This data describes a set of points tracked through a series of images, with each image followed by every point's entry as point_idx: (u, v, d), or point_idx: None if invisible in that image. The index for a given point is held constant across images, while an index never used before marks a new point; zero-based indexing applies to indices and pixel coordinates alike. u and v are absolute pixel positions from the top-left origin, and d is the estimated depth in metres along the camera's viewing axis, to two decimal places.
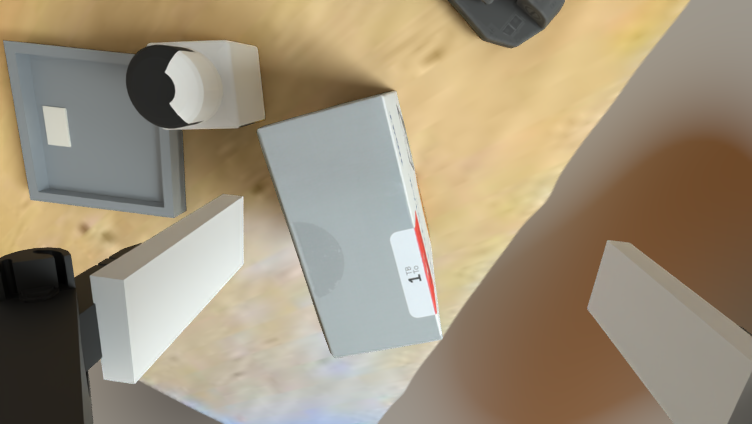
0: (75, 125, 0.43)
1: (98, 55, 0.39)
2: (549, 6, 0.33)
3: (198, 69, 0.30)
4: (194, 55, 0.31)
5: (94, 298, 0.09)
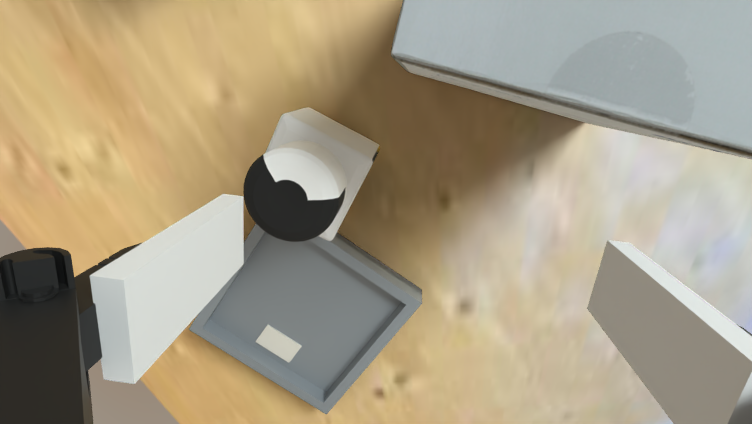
0: (286, 327, 0.41)
1: None
2: None
3: (291, 147, 0.25)
4: (277, 147, 0.26)
5: (94, 298, 0.09)
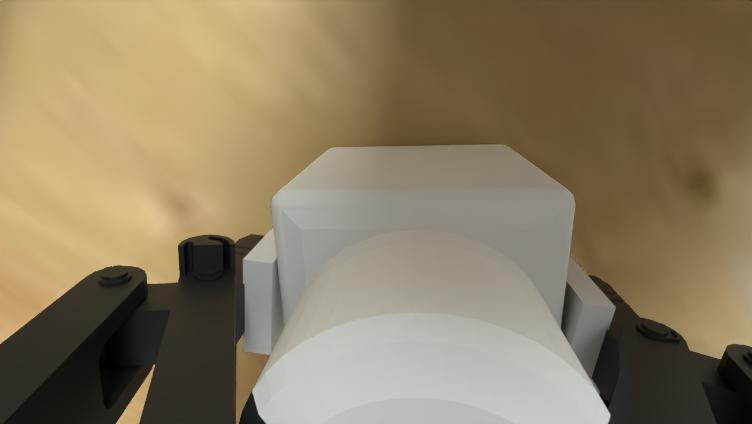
0: None
1: None
2: None
3: (336, 322, 0.06)
4: (294, 318, 0.07)
5: (244, 279, 0.10)
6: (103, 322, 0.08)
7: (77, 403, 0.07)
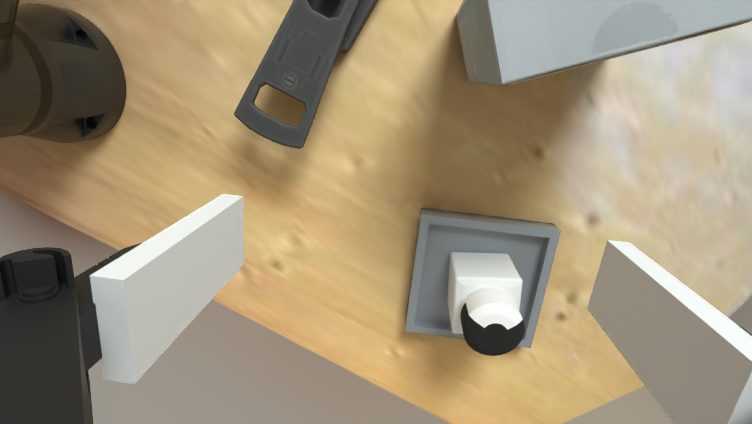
0: None
1: (418, 265, 0.50)
2: None
3: (483, 304, 0.41)
4: (469, 304, 0.42)
5: (94, 298, 0.09)
6: None
7: None
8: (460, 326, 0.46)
